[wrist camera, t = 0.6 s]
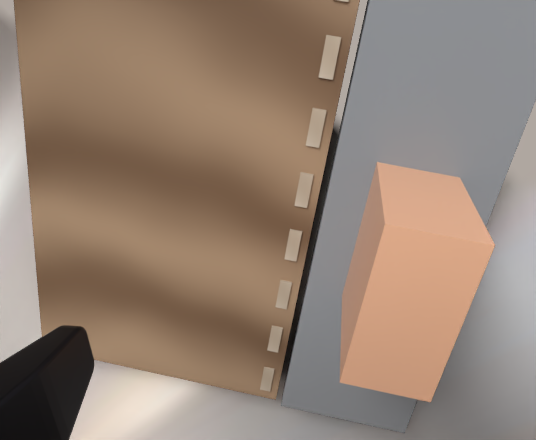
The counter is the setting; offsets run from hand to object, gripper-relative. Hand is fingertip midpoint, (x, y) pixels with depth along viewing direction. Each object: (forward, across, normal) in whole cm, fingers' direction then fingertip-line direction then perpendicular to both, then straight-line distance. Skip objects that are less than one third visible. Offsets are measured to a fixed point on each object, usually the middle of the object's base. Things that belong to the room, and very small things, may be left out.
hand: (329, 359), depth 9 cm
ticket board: (+13, +7, +2) cm, 15 cm away
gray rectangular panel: (+12, -2, +4) cm, 13 cm away
